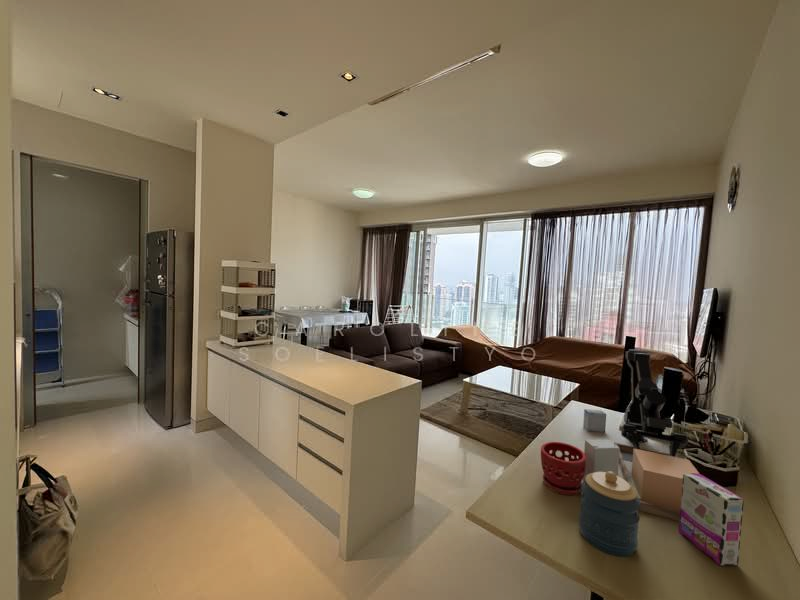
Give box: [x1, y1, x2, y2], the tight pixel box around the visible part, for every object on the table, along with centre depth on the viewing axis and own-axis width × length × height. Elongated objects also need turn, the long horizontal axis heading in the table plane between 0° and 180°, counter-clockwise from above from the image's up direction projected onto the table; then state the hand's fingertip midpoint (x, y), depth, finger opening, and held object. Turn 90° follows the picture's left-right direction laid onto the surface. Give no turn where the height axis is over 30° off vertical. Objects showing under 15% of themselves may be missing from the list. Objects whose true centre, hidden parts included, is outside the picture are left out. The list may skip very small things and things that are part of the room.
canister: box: [578, 471, 641, 558], centre depth 85 cm, size 13×13×18 cm
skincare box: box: [582, 439, 620, 483], centre depth 108 cm, size 8×6×15 cm
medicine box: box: [582, 408, 607, 433], centre depth 152 cm, size 8×4×9 cm, turn 84°
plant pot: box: [540, 441, 586, 496], centre depth 107 cm, size 13×13×12 cm
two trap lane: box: [613, 442, 680, 522], centre depth 112 cm, size 42×20×3 cm, turn 154°
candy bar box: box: [678, 473, 745, 567], centre depth 83 cm, size 11×5×16 cm, turn 5°
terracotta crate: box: [630, 448, 700, 511], centre depth 105 cm, size 15×15×10 cm
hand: (656, 459), depth 115 cm, fingers open, 9 cm apart
